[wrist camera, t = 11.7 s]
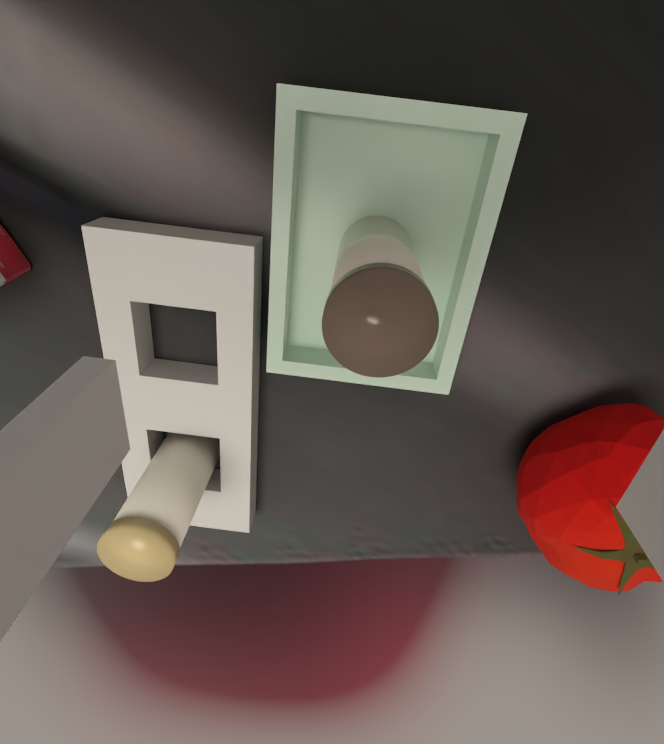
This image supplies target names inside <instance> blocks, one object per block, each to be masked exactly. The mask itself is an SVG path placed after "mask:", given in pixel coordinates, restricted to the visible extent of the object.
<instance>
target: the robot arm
mask: <svg viewBox="0 0 664 744" xmlns="http://www.w3.org/2000/svg"><path fill="white" fill-rule="evenodd" d="M129 450H130V444H129V438H128V432H127V426H126V420H125V414H124V408H123V402H122V396H121V390H120V384H119V378H118V372H117V366H116V360H111V359H102V358H94V357H85V356H83V357H82V358H81V359H80V360H78V361H77V362H76V363H75V364H74V365H73V366H72V367H71V368H70V369H68V370H67V371H66V372H65V373H64V374H63V375H62V376H61V377H60V378H58V379H57V380H56V381H55V382H54V383H53V384H52V385H51V386H50V387H48V388H47V389H46V390H45V391H44V392H43V393H42V394H41V395H39V396H38V397H37V398H36V399H35V400H34V401H33V402H32V403H31V404H29V405H28V406H27V407H26V408H25V409H24V410H23V411H22V412H21V413H19V414H18V415H17V416H16V417H15V418H14V419H13V420H12V421H11V422H9V423H8V424H7V425H6V426H5V427H4V428H3V429H2V430H1V431H0V641H1V640H2V638H3V637H4V635H5V634H6V632H7V631H8V630H9V628H10V627H11V625H12V623H13V622H14V620H15V619H16V617H17V616H18V614H19V613H20V612H21V610H22V609H23V607H24V606H25V604H26V603H27V601H28V600H29V598H30V597H31V595H32V594H33V592H34V591H35V590H36V588H37V587H38V585H39V583H40V582H41V581H42V579H43V578H44V576H45V575H46V573H47V572H48V570H49V569H50V567H51V566H52V564H53V563H54V561H55V560H56V558H57V557H58V556H59V554H60V553H61V551H62V550H63V548H64V547H65V545H66V544H67V542H68V541H69V539H70V538H71V536H72V535H73V533H74V532H75V530H76V529H77V527H78V526H79V524H80V523H81V521H82V520H83V519H84V517H85V516H86V514H87V513H88V511H89V510H90V508H91V507H92V505H93V504H94V502H95V501H96V499H97V498H98V496H99V495H100V493H101V492H102V490H103V489H104V487H105V486H106V484H107V483H108V482H109V480H110V479H111V477H112V476H113V474H114V473H115V471H116V470H117V468H118V467H119V465H120V464H121V462H122V461H123V459H124V458H125V456H126V455H127V453H128V452H129ZM616 508H617V509H618V511H619V512H620V514H621V516H622V517H623V519H624V520H625V522H626V524H627V525H628V527H629V528H630V530H631V531H632V533H633V535H634V536H635V538H636V539H637V541H638V543H639V544H640V546H641V547H642V549H643V550H644V552H645V554H646V555H647V557H648V558H649V560H650V562H651V563H652V565H653V566H654V568H655V569H656V571H657V573H658V574H659V576H660V577H661V579H662V581H663V582H664V430H663V431H662V433H661V435H660V436H659V438H658V439H657V441H656V443H655V444H654V446H653V448H652V449H651V451H650V452H649V454H648V456H647V457H646V459H645V461H644V462H643V464H642V465H641V467H640V469H639V470H638V472H637V474H636V475H635V477H634V479H633V480H632V482H631V483H630V485H629V487H628V488H627V490H626V492H625V493H624V495H623V496H622V498H621V500H620V501H619V503H618V505H617V506H616Z"/></svg>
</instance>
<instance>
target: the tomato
mask: <svg viewBox="0 0 664 744" xmlns="http://www.w3.org/2000/svg"><path fill="white" fill-rule="evenodd" d="M663 430H664V419H663V418H662V417H661V416H660V415H658V414H657V413H655V412H654V411H652V410H651V409H650V408H648V407H647V406H645V405H639V404H634V403H622V404H609V405H599V406H597V407H594V408H592V409H589V410H587V411H584V412H582V413H579V414H577V415H575V416H572V417H570V418H568V419H565V420H563V421H561V422H558V423H556V424H554V425H551V426H549V427H548V428H547V429H545V430H544V431H543V432H542V433H541V434H540V435H538V436H537V437H536V438H535V439H534V440H533V441H532V442H531V443H530V445H529V446H528V448H527V450H526V452H525V454H524V456H523V458H522V460H521V462H520V465H519V467H518V474H517V506H518V512H519V515H520V517H521V518H522V519H523V521H524V522H525V524H526V526H527V529H528V531H529V534H530V535H531V537H532V538H533V540H534V541H535V543H536V544H537V546H538V547H539V548H540V550H541V551H542V553H543V554H544V556H545V557H546V559H547V560H548V562H549V563H550V564H551V565H553V566H554V567H556V568H557V569H559V570H560V571H562V572H563V573H565V574H567V575H569V576H570V577H572V578H574V579H576V580H578V581H579V582H582V583H583V584H585V585H587V586H589V587H591V588H597V589H602V590H607V591H613V592H617V591H618V594H620V592H621V591H628V590H630V589H632V588H634V587H636V586H637V585H639V584H641V583H642V582H644V581H654V582H655V581H656V582H663V581H662V579H661V577H660V576H659V574H658V573H657V571H656V569H655V568H654V566H653V565H652V563H651V562H650V560H649V558H648V557H647V555H646V554H645V552H644V550H643V549H642V547H641V546H640V544H639V543H638V541H637V539H636V538H635V536H634V535H633V533H632V531H631V530H630V528H629V527H628V525H627V524H626V522H625V520H624V519H623V517H622V516H621V514H620V512H619V511H618V509H617V508H616V506H617V505H618V503H619V501H620V500H621V498H622V496H623V495H624V493H625V492H626V490H627V488H628V487H629V485H630V483H631V482H632V480H633V479H634V477H635V475H636V474H637V472H638V470H639V469H640V467H641V465H642V464H643V462H644V461H645V459H646V457H647V456H648V454H649V452H650V451H651V449H652V448H653V446H654V444H655V443H656V441H657V439H658V438H659V436H660V435H661V433H662V431H663Z"/></svg>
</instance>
